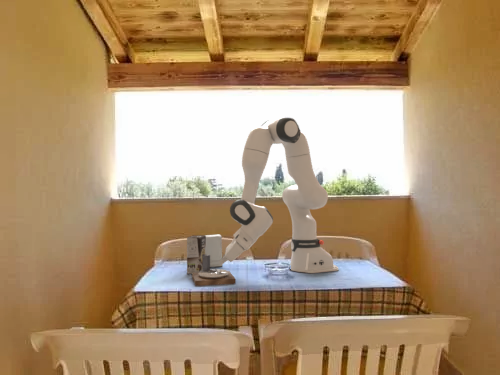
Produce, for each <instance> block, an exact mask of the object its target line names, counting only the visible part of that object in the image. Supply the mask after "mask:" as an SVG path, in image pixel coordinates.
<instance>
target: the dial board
mask: <svg viewBox="0 0 500 375" xmlns="http://www.w3.org/2000/svg"><path fill="white" fill-rule="evenodd" d="M227 271H228V276H227V277H224V278H218V279H206V278H201V277H199V273H192V274H191V279H192V281H193V283H194V286H195V287H198V286H200V287H202V286H214V285H215V286H217V285H220V286H221V285H233V284H236V282H237V281H236V278H235V276H234V275H233V273H231V272H230V270H227Z"/></svg>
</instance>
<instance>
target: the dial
mask: <svg viewBox="0 0 500 375" xmlns="http://www.w3.org/2000/svg"><path fill="white" fill-rule="evenodd" d="M202 267H203V270H201V271H199V277H201V278H206V279H218V278H224V277H227V276H228V271H229V270H227V269H222V268H211V267H210V255H207V254H204V255H202Z"/></svg>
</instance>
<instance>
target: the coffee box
mask: <svg viewBox="0 0 500 375" xmlns="http://www.w3.org/2000/svg"><path fill="white" fill-rule="evenodd" d="M204 254H206V236H204V235H201V234H200V235H190V236H188V237H186V274H191V275H192V273H199V271H201V270H203V267H202V255H204Z"/></svg>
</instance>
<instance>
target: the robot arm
mask: <svg viewBox="0 0 500 375" xmlns="http://www.w3.org/2000/svg"><path fill="white" fill-rule="evenodd" d="M273 144H277V145H278V144H279V145H280V144H281V145H282V146H283V148H284V153H285V154H284V156H285V159H286V160H285V162H286V166H287V173H288V175H289V176H290V177H291V178H292V179H293V181H294V183H295V184H293V185H288V186H287V187H285V188H284V189H283V191H282V196H281V197H282V201H283V202H284V204H285V205H286V207H287V209H288V211H289V215H290V218H291V224H292V225H291V227H292V229H291V230H292V234H291V235H292V237H291V243H290V247H291V249H290V250H291V258H290V262H289V266H290V265H291V270H290V271H292V272H297V273H298V272H299V273H306V274H317V273H326V272H336V271H339V267H338V266H337V265H335V264H334V259H333V256H332V255H331V254H330V253H329V252H327V250H325V249H324V248H323V247H321V245H322V246H323V245H324V244H325V242H324V240H322V239H318V238H317V221H316V219H315V218H314V216H312V213H311V210H318V209H321V208H324V207H325V206H326V205H327V204H328V201H329V200H328V197H329V195H328V191H327V190H326V188H324V187H323V186H322V185H321V184H320V182H319V180H318V178H317V176H316V175H315V171H314V168H313V165H312V159H311V152H310V146H309V143H308V139H307V137H306V134H305V133H304V132H303V131H301V129H300V125H299V124H298V122H297V121H296V120H295V119H294V118H293V117H290V116H289V117H288V116H283V117H277V118H274V119H271V120H267V121H264V122H263V123H262V124H261V125H260V126H256V127H254V128H252V129H251V130H250V132H249V134H248V136H247V139H246V141H245V145H244V148H243V152H242V155H241V156H242V158H241V167H242V171H243V175H244V184H243V189H242V193H241V198H240V199H237V200H234V201H233V202H232V203H231V205H230V207H229V213H230V216H231V219H233V220H234V221H236V222H237V223H238V224H240V225H241V226H240V228H239V229H237V230H236V231H235V232H234V233H233V234H232V236H233V238H232V241H231V242H230V243H229V244H227V246H226V247H225V254H223V255H222V258H221V259H220V260H219V263H220V264H221V265H222V266H223V264H224V263H226V262H227V261H229V262H230V263H231V262H233V261H235V260H236V259H237V258H238V257H239V256H240V255H242V254H243V252H245V251H248V250H249V249H250V248H251V247H252V246H253V245H254V244H255V243H256V242H257V241H258V239H259V238H260V237H262V236H263V235H264V234H265V233H266V232H267V230H269V228H270V227H271V226H272V225H273V222H274V217H273V215H272V214H271V212H270V211H269V209H267V207H266V206H261V205H257V204H256V199H257V195H258V194H257V193H258V189H259V186H260V181H261V178H262V176H263V173H264V171H265V169H266V166H267V163H268V159H269V155H270V152H271V151H270V150H271V147H272V146H273Z"/></svg>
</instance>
